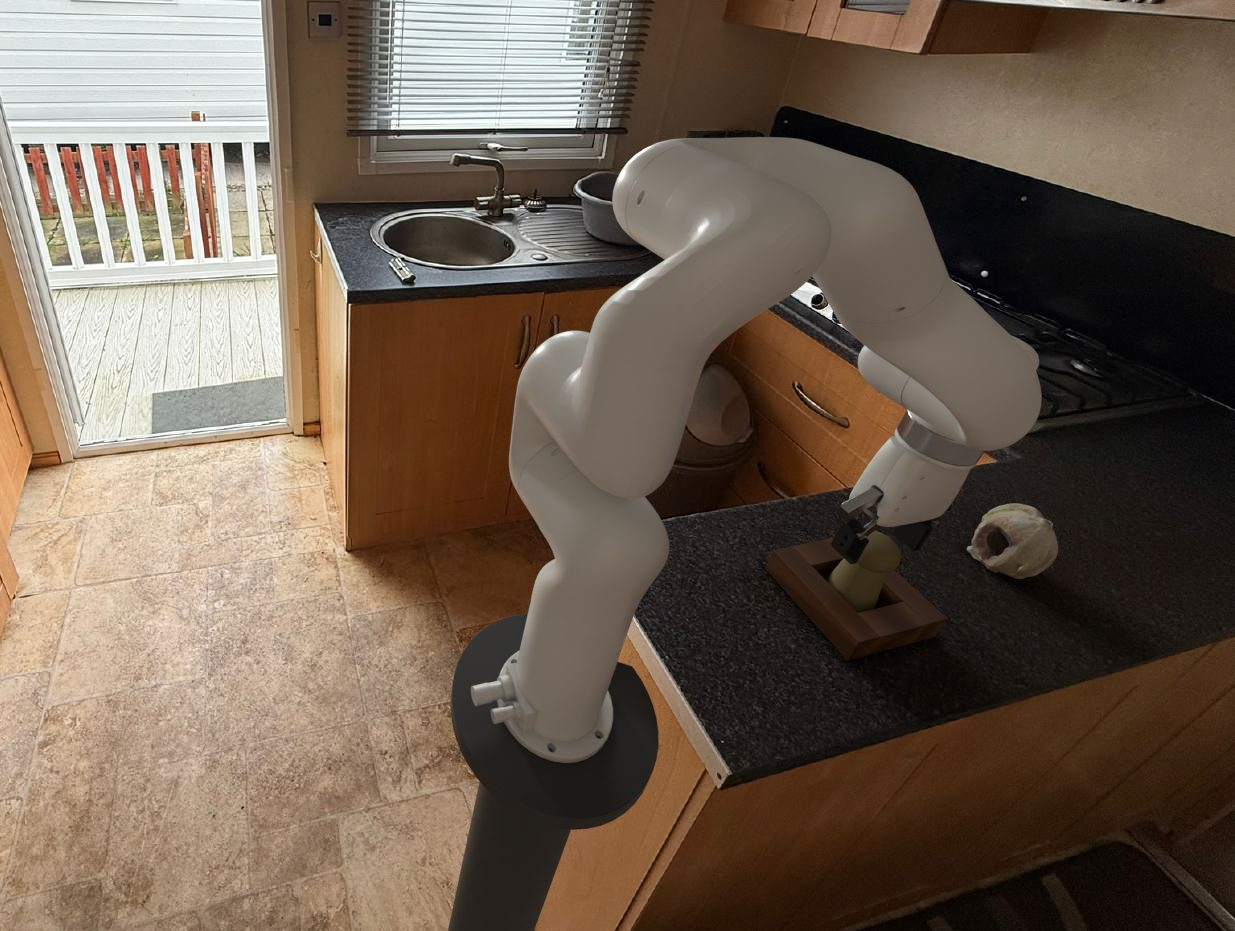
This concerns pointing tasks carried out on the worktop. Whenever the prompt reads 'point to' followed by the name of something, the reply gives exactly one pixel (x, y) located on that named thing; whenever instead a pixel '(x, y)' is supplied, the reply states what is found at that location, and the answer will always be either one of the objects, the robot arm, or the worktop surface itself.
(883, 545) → the cork
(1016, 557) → the cream hollow round shell
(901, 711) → the worktop surface
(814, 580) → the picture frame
